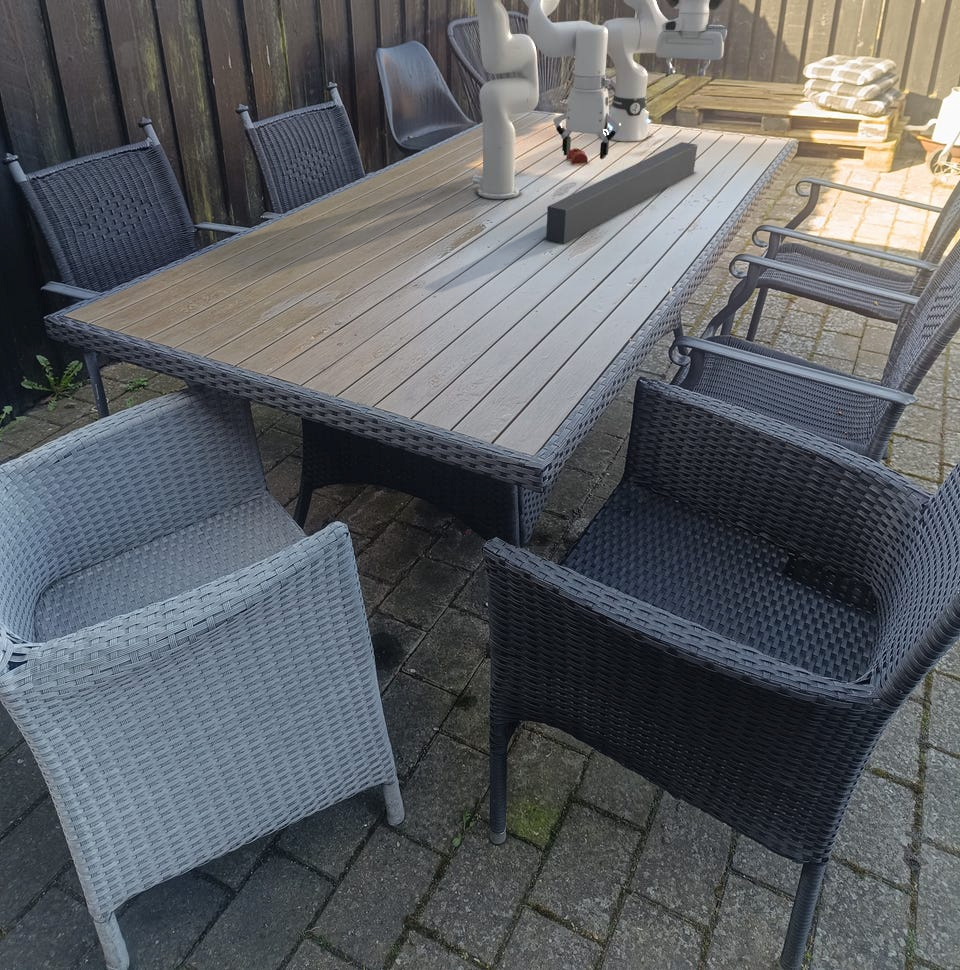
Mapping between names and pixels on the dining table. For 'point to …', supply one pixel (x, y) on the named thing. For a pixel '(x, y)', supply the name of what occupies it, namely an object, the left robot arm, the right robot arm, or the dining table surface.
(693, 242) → the dining table surface
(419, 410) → the dining table surface
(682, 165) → the beam
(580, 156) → the dark red rounded lump
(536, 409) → the dining table surface
